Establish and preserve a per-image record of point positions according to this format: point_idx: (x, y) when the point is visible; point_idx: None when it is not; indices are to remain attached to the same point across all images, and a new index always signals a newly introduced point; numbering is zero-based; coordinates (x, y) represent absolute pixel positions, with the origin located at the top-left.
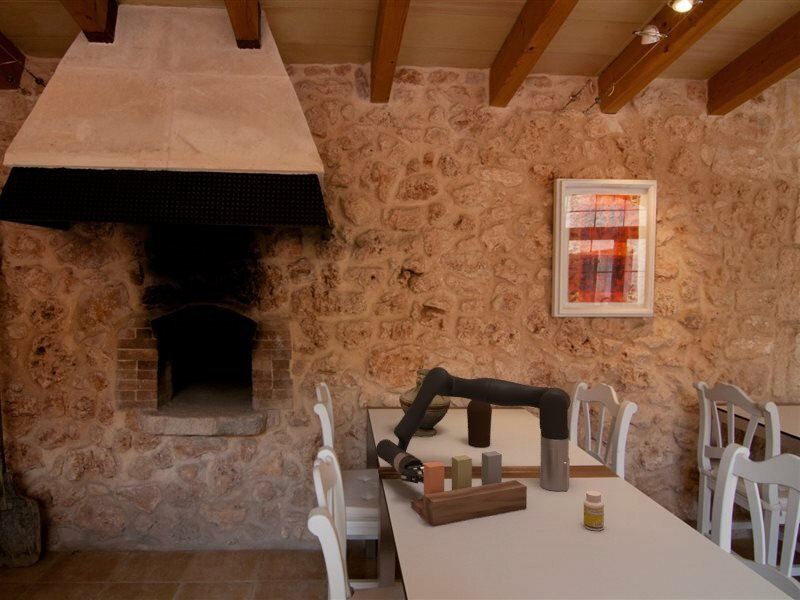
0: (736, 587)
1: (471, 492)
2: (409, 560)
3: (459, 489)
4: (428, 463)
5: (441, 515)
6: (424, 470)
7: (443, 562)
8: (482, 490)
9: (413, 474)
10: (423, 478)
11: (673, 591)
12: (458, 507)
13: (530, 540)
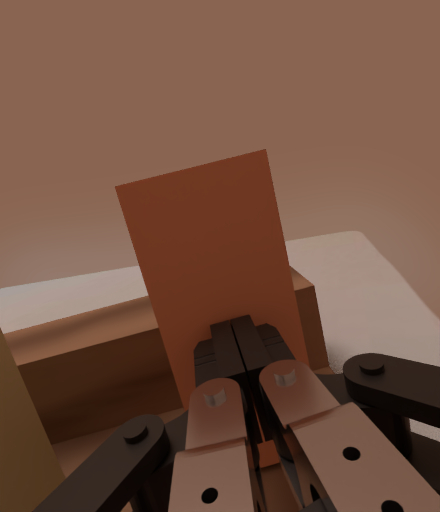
0: (9, 289)
1: (81, 323)
2: (370, 256)
3: (101, 340)
4: (223, 160)
5: None
6: (273, 207)
7: (300, 264)
8: (19, 340)
9: (426, 382)
10: (286, 353)
11: (67, 278)
12: None
13: None
